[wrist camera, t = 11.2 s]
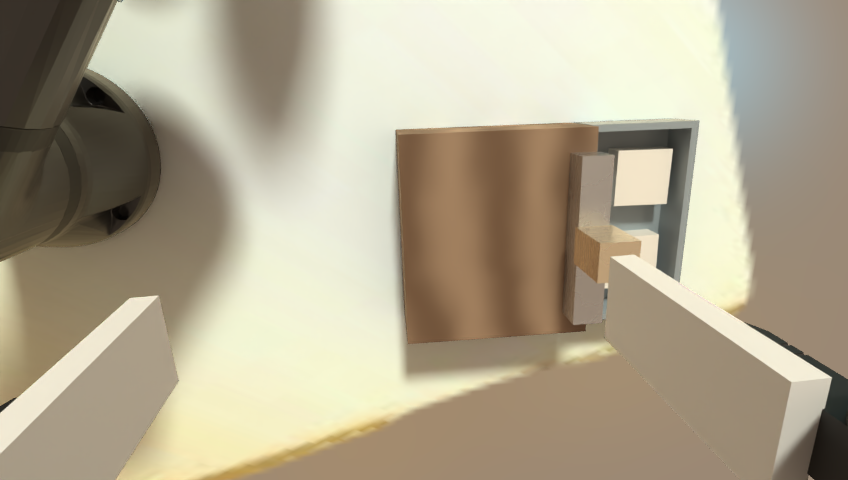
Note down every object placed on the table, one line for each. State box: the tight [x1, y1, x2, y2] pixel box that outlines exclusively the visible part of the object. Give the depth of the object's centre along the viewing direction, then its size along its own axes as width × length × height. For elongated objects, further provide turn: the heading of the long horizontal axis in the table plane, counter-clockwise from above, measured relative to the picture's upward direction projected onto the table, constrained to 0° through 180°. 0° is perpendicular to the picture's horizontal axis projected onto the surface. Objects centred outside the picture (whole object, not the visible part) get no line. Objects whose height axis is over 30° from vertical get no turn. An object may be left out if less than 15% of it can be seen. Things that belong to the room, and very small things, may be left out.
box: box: [576, 119, 699, 320], centre depth 45 cm, size 9×18×4 cm, turn 2°
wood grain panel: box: [396, 123, 599, 344], centre depth 44 cm, size 16×18×6 cm
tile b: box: [608, 147, 673, 206], centre depth 45 cm, size 5×5×2 cm
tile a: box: [605, 229, 659, 288], centre depth 47 cm, size 5×5×2 cm
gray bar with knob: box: [562, 152, 642, 325], centre depth 38 cm, size 3×14×7 cm, turn 2°
